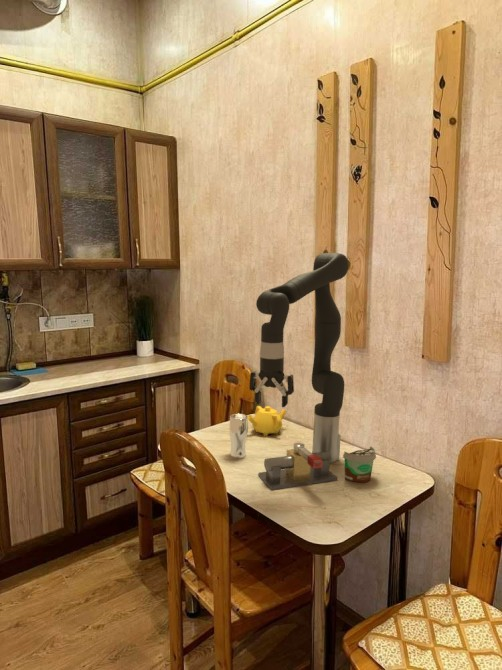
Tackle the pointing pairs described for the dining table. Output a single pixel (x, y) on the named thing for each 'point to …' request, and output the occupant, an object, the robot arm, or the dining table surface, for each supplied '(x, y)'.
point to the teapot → (267, 420)
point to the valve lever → (307, 455)
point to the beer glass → (238, 434)
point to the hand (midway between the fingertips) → (271, 405)
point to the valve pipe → (295, 471)
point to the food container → (359, 465)
